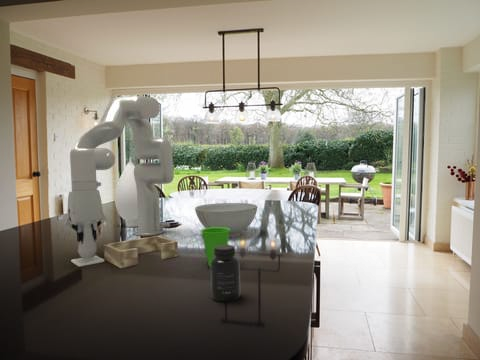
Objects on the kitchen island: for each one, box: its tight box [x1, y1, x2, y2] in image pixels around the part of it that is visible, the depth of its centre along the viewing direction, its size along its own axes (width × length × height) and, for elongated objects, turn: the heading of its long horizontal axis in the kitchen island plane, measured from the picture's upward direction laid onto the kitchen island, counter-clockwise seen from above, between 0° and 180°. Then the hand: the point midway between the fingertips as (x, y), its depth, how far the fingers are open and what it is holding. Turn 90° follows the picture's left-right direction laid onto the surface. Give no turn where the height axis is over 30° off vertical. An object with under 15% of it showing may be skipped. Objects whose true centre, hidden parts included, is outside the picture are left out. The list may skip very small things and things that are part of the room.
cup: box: [200, 227, 230, 268], centre depth 114 cm, size 9×9×11 cm
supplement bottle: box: [210, 244, 241, 303], centre depth 88 cm, size 7×7×12 cm
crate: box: [103, 235, 179, 269], centre depth 126 cm, size 20×14×5 cm
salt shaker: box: [77, 220, 98, 258], centre depth 122 cm, size 6×6×13 cm
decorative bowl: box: [194, 202, 259, 238], centre depth 161 cm, size 27×27×12 cm
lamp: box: [114, 156, 138, 228], centre depth 188 cm, size 16×16×35 cm
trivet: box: [70, 254, 105, 267], centre depth 122 cm, size 8×8×1 cm
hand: (87, 242), depth 122 cm, fingers closed on salt shaker, 3 cm apart
